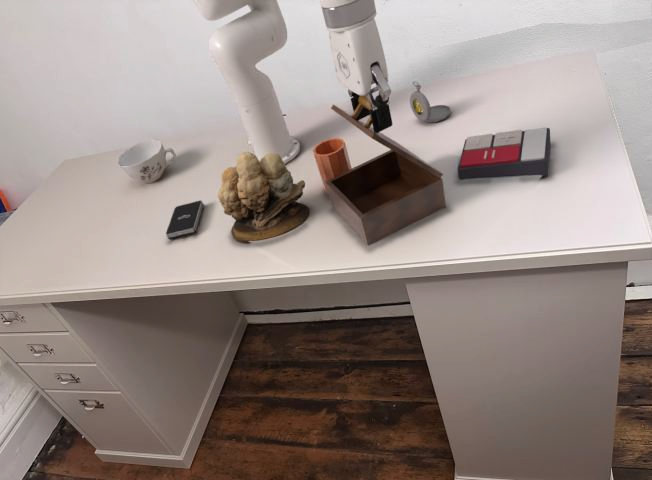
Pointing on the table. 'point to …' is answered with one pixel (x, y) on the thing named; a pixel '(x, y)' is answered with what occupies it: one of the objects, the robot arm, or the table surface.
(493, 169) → the calculator
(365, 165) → the chest
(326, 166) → the cup
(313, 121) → the table surface
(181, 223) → the external hard drive
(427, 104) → the pocket watch
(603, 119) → the table surface
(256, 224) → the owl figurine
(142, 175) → the teacup
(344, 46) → the robot arm
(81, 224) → the table surface
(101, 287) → the table surface
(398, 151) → the lid
